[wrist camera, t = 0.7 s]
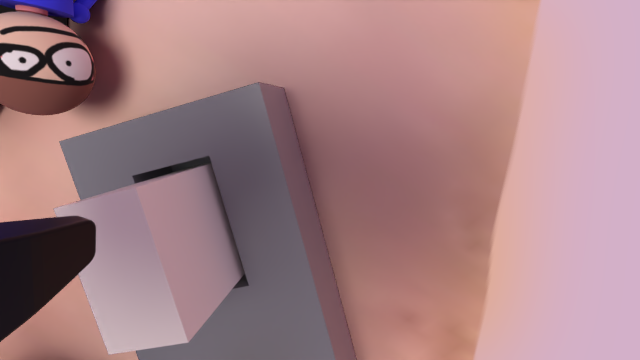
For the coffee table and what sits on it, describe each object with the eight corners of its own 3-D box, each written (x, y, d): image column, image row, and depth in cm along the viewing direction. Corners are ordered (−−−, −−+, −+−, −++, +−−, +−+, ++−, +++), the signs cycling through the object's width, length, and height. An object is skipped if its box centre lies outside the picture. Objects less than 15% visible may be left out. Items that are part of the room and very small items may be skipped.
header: (229, 458, 26) (200, 528, 22) (120, 135, 23) (59, 141, 19) (380, 446, 24) (380, 521, 20) (283, 87, 21) (258, 82, 16)
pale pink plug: (207, 264, 22) (108, 354, 14) (177, 170, 22) (53, 208, 13) (260, 254, 22) (188, 342, 13) (231, 156, 21) (135, 187, 13)
